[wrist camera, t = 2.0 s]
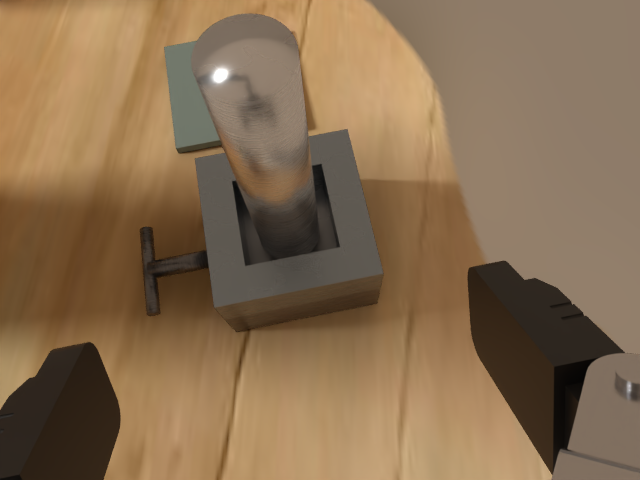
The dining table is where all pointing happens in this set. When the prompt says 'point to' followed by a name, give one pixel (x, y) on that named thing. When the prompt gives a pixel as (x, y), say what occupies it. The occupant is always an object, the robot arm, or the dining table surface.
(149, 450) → the dining table surface
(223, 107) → the steel pin
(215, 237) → the vise
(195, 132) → the mat
